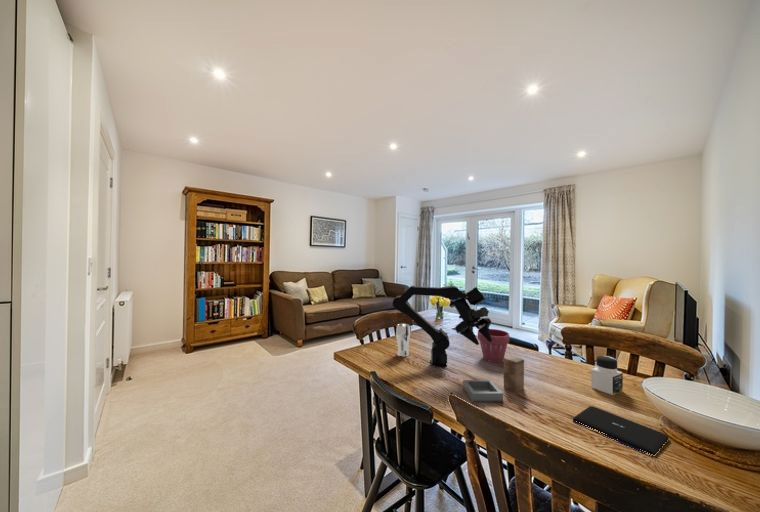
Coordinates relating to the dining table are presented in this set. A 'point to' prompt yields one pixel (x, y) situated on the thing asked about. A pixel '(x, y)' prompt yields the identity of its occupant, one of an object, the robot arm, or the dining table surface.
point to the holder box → (482, 391)
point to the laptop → (622, 430)
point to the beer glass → (403, 339)
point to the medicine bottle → (607, 376)
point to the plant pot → (494, 345)
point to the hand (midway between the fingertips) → (484, 343)
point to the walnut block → (514, 373)
